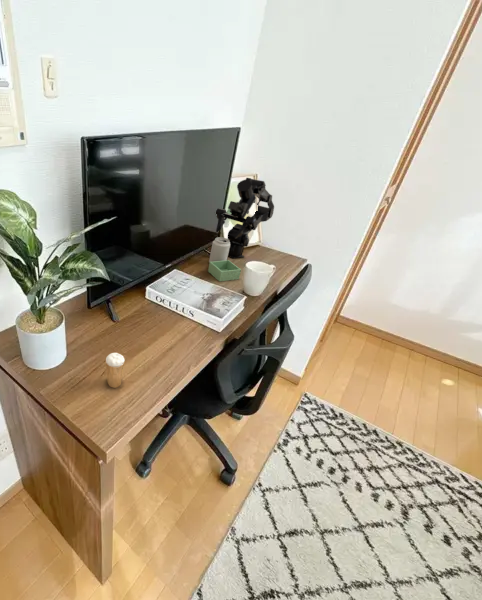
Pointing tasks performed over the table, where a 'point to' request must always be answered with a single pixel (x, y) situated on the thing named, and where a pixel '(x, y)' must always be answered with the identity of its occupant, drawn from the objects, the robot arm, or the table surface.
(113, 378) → the milkshake
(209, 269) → the bin
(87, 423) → the table surface
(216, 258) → the can
